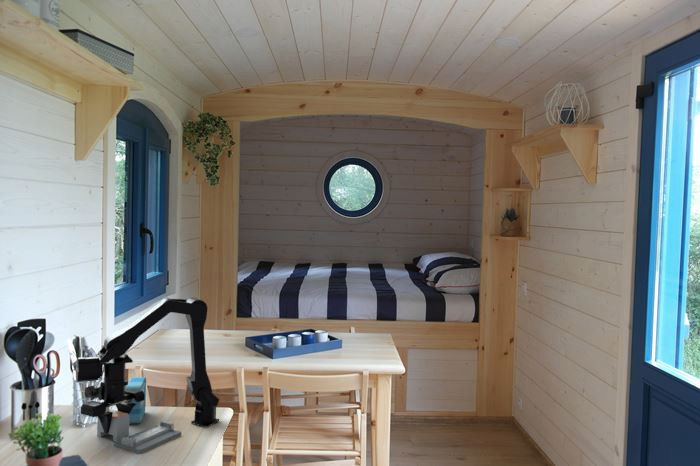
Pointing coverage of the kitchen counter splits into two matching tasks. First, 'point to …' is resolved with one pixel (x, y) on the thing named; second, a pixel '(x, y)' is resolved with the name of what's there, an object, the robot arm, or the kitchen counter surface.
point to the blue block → (139, 409)
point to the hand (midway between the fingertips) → (113, 430)
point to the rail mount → (148, 438)
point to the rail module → (116, 425)
